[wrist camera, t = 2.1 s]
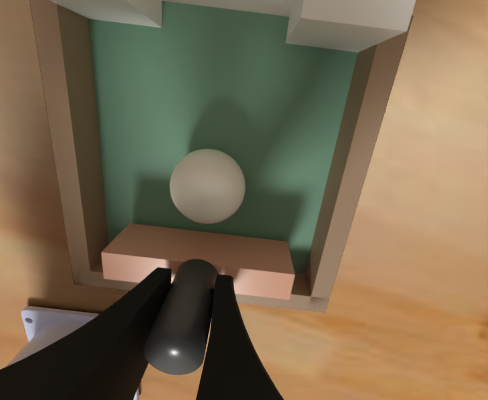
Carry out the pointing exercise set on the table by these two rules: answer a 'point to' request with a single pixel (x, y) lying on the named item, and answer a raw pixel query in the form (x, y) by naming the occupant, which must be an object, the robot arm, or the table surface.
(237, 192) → the ball
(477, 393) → the table surface
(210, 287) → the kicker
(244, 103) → the pitch
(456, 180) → the table surface
